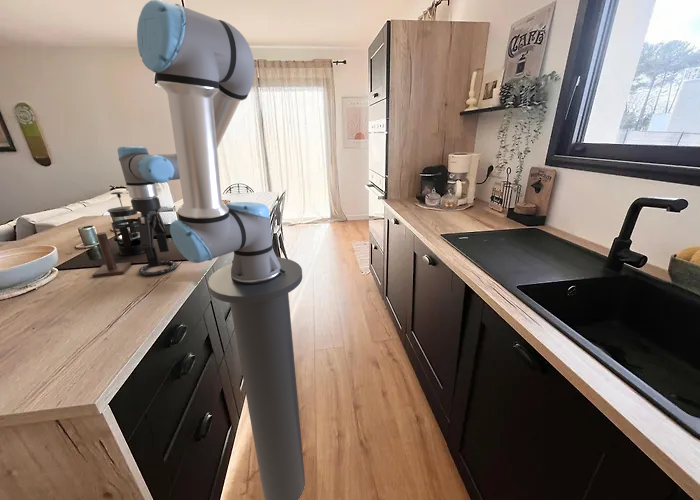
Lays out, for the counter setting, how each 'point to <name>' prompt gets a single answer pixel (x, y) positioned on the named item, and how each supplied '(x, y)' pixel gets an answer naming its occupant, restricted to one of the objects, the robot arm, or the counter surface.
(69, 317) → the counter surface
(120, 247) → the french press
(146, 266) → the ring
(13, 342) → the counter surface
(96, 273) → the holder
